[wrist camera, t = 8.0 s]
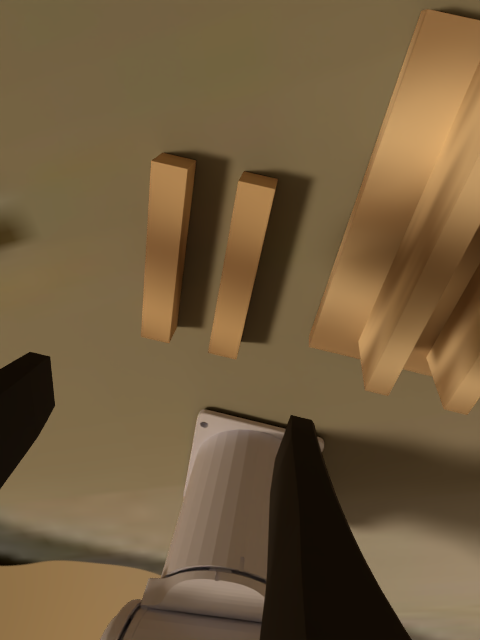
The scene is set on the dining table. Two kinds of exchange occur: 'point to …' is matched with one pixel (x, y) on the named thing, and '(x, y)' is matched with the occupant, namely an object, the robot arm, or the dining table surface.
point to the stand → (170, 247)
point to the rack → (417, 228)
